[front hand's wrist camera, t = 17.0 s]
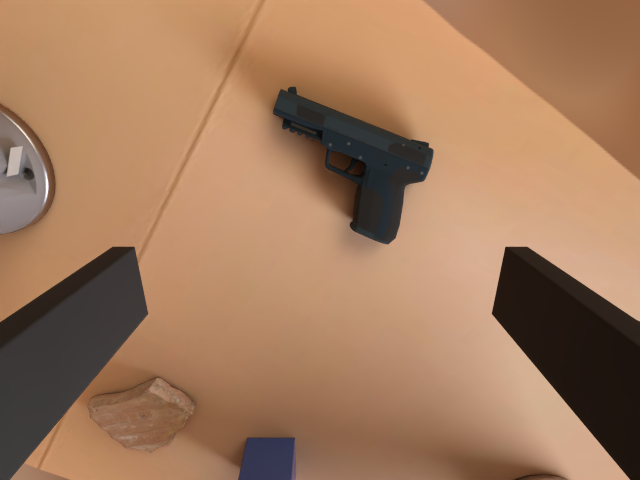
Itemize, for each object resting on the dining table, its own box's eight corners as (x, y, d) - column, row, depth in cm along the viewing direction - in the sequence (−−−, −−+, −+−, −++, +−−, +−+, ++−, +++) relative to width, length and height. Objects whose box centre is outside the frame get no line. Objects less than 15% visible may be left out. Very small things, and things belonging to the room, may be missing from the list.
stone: (144, 447, 55) (137, 462, 53) (90, 397, 52) (79, 411, 49) (209, 414, 53) (204, 428, 50) (158, 359, 49) (149, 372, 47)
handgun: (252, 188, 41) (285, 83, 37) (389, 238, 43) (434, 143, 39) (246, 195, 38) (281, 81, 34) (394, 248, 40) (443, 146, 36)
